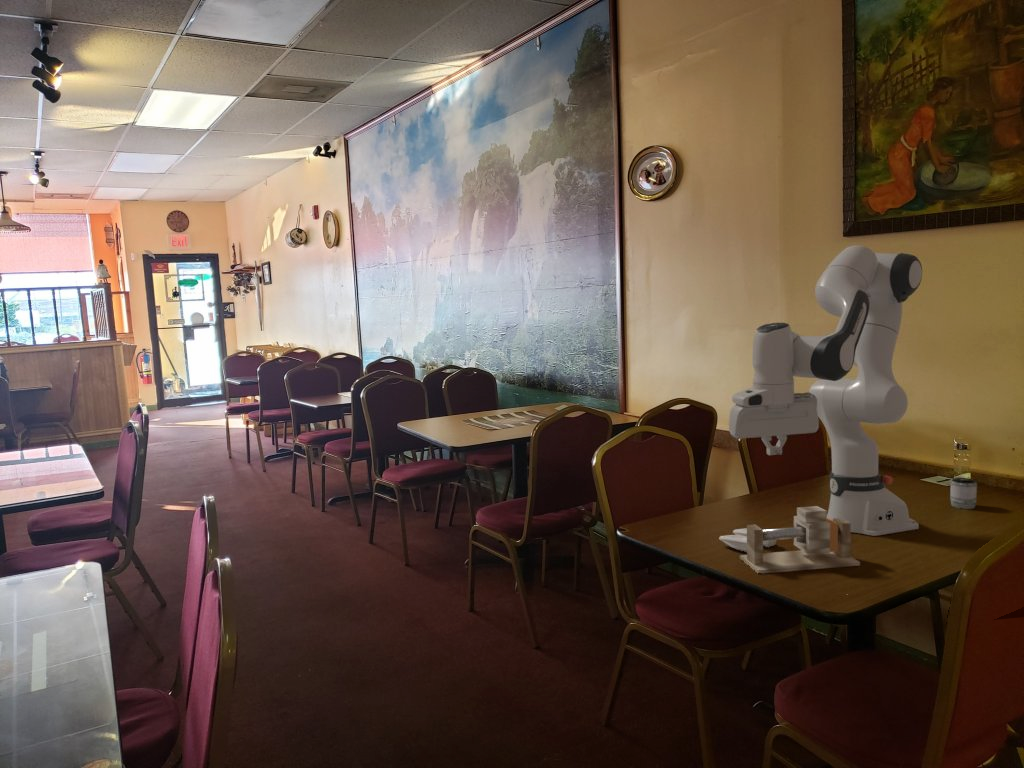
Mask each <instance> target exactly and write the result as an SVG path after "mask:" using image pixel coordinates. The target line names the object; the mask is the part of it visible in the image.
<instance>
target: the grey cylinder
mask: <svg viewBox="0 0 1024 768" xmlns="http://www.w3.org/2000/svg"><path fill="white" fill-rule="evenodd" d="M977 491H978V483H977V482H976V481H975V480H974V479H971V478H968V477H955V478H953V479H951V480H950V492H949V493H950V496H949V497H950V505H951V506H952V507H953V506H954V507H953V508H955V507H956V509H960V508H962V510H972V509H975V508H976V505H977Z"/></svg>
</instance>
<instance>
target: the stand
mask: <svg viewBox="0 0 1024 768" xmlns="http://www.w3.org/2000/svg"><path fill="white" fill-rule="evenodd" d="M833 521H834V522H836V523H838V525H839V527H840V530H841V532H840V534H839V535H838V551H834V552H830V553H828V554H815V555H808V554H807V553H805V552H804V551H802V550H801V549H799V550H788V551H776V552H775V551H774V552H764V546H763V530H764V529H763V528H761V527H760V526H759V525H757V524H746V528H747V552H746V554H740V555H739V559H740V560H741V561H742V560H743V561H744V562H743V561H742V562H743V563H745V564H746V565H747V566H748V565H749V566H750V568H751V569H752V570H753V571H754V570H755V571H754V572H755V573H757V574H758V573H761V574H773V573H785V572H794V571H795V572H797V571H806V570H808V571H809V570H819V569H831V568H832V569H833V568H845V567H855V566H857V567H858V566H861V562H860V560H857V559H856V558H854V557H853V556H851V547H852V545H851V541H852V540H851V537H852V536H851V533H852V532H851V523H850V522H848V521H846V520H844V519H842V518H835V519H833ZM749 566H748V567H749Z"/></svg>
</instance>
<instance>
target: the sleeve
mask: <svg viewBox="0 0 1024 768" xmlns="http://www.w3.org/2000/svg"><path fill="white" fill-rule="evenodd" d="M827 514H828V510H826V509H824V508H822V507H820V506H818V505H814V506H803V507H802V506H800V507H796V515H793V527H804V528H806V538H793V546H795V547H796V548H798V549H799V550H802V551H804V552H805V553H807V554H808V555H815V554H828V553H830V523H828V522H827Z"/></svg>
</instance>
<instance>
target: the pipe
mask: <svg viewBox="0 0 1024 768" xmlns="http://www.w3.org/2000/svg"><path fill="white" fill-rule="evenodd" d="M840 532H841V530H840V527H839V525H838V535H839V534H840ZM794 538H806V528H804V527H794V526H793V527H781V528H768V529H767V528H765V529H763V541H767V540H776V541H777V540H790V539H793V540H794Z"/></svg>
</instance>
